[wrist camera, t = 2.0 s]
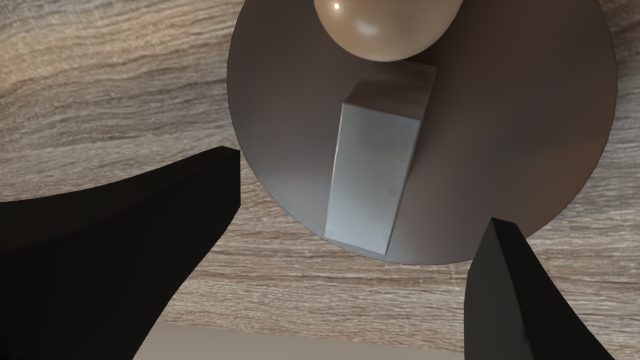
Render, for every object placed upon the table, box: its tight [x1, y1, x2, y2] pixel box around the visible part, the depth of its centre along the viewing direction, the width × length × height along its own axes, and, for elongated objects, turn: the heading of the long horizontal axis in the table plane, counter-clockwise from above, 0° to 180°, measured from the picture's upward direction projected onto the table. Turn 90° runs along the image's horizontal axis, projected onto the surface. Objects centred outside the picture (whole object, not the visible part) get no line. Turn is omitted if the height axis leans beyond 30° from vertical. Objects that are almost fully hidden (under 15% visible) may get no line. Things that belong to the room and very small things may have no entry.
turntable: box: [227, 0, 618, 265], centre depth 14 cm, size 15×15×10 cm
